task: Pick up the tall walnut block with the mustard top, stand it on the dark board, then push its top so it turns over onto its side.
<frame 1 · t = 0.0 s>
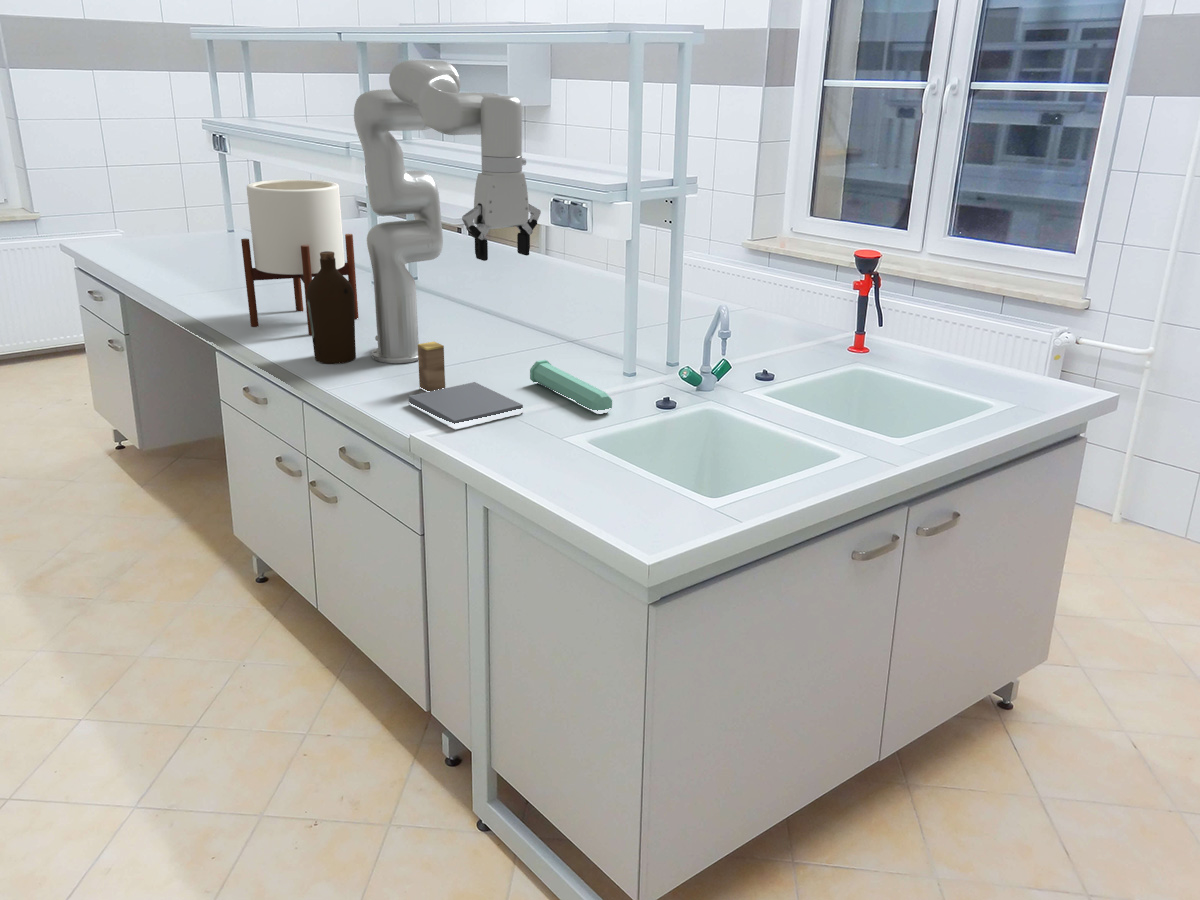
hand: (502, 256, 190), 31 cm above the countertop, tool pointing down, fingers open, 9 cm apart
plant pot with stand: (305, 323, 260), on the countertop
board: (465, 409, 200), on the countertop
olive oil: (335, 359, 231), on the countertop
container: (571, 400, 208), on the countertop
block: (432, 389, 211), on the countertop
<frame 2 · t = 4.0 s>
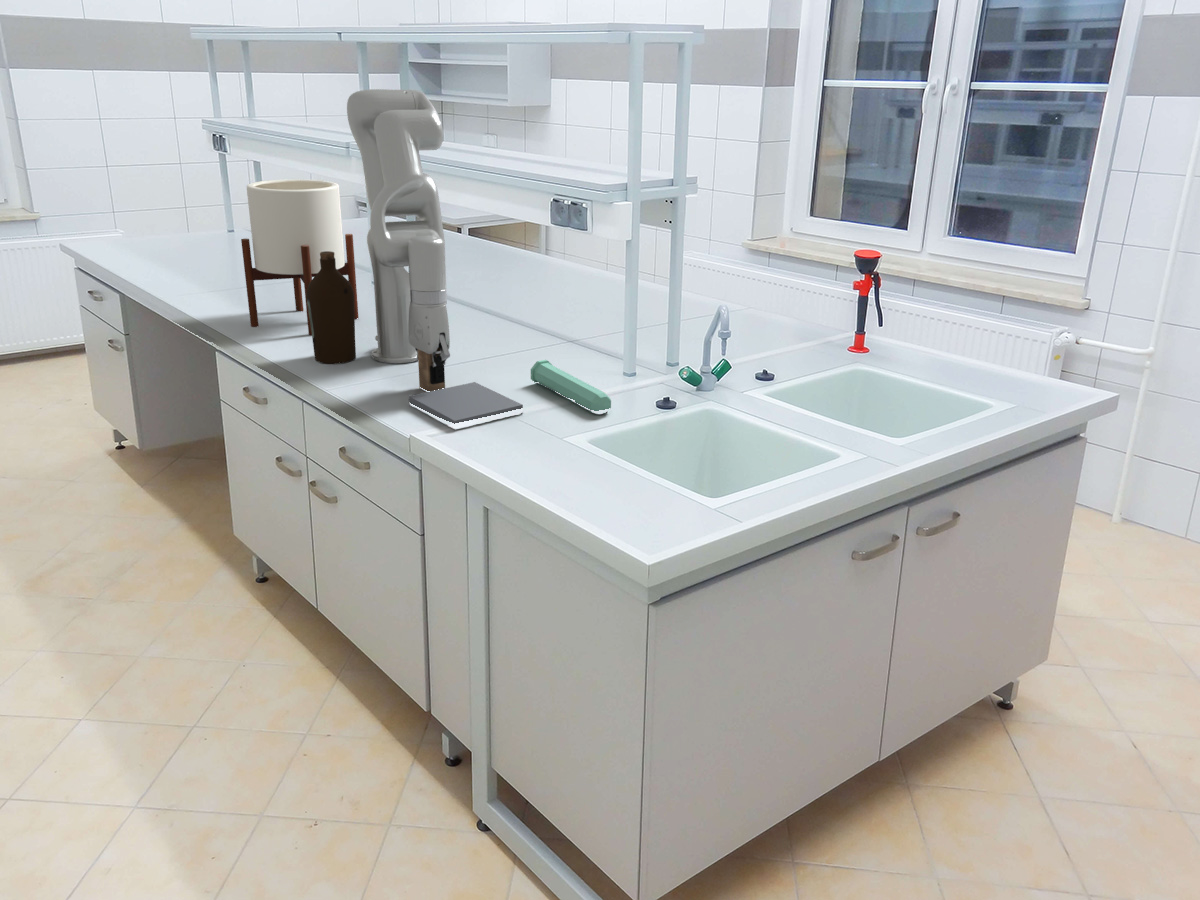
hand: (431, 379, 210), 2 cm above the countertop, tool pointing down, fingers closed on block, 4 cm apart
block: (432, 389, 211), on the countertop, touching gripper
everything else where it was.
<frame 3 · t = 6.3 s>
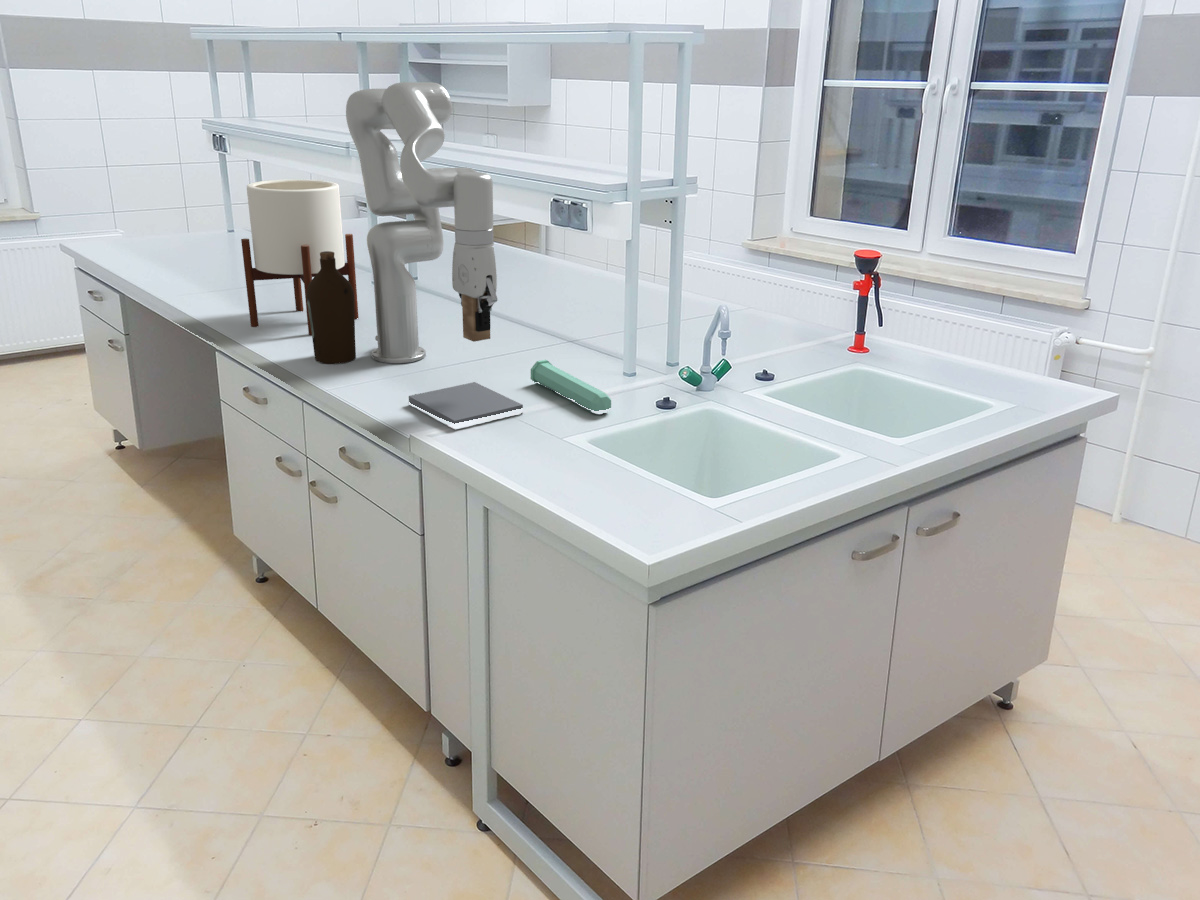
hand: (476, 327, 199), 16 cm above the countertop, tool pointing down, fingers closed on block, 4 cm apart
block: (476, 338, 200), point 14 cm above the countertop, touching gripper
everything else where it was.
when the fingers open (5 cm above the countertop, at t = 8.9 s): block stays where it is, resting on board.
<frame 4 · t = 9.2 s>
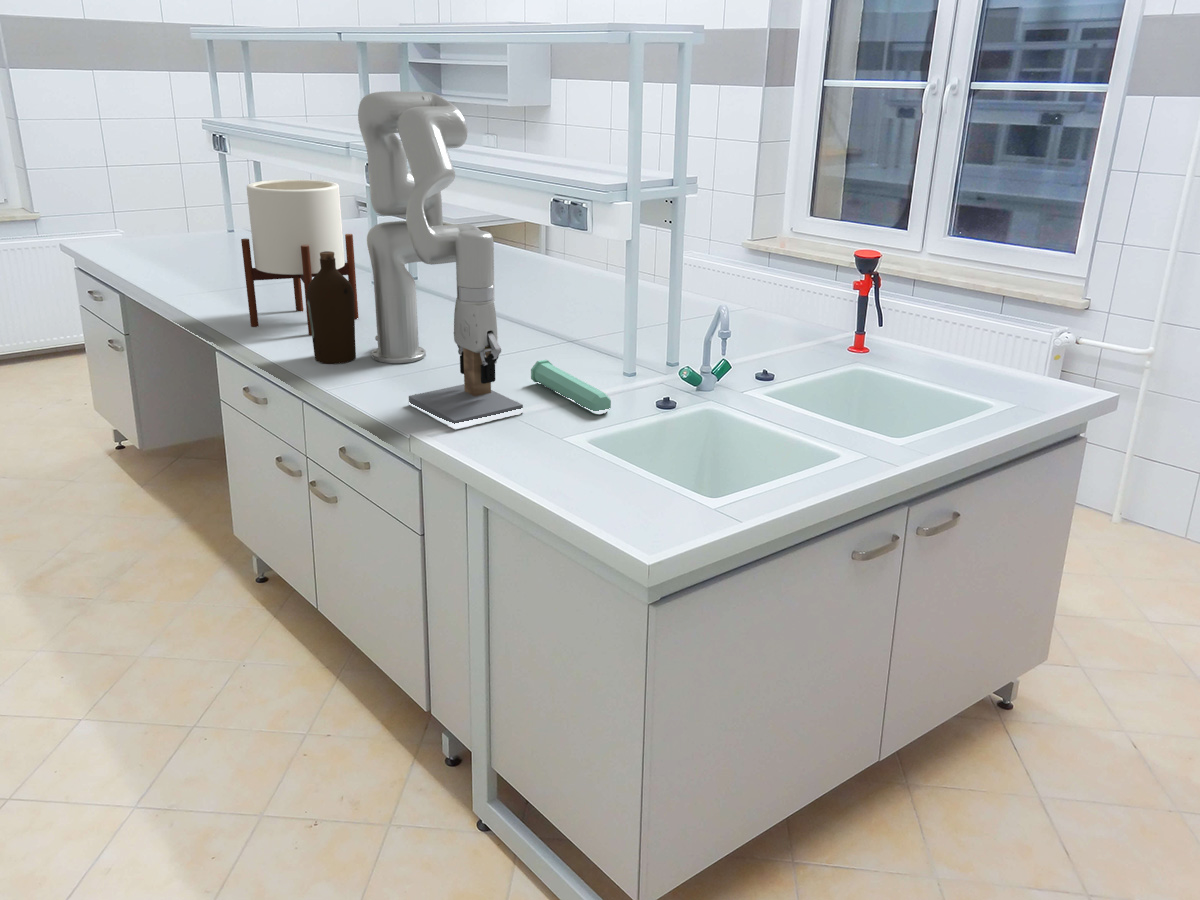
hand: (477, 376, 203), 5 cm above the countertop, tool pointing down, fingers open, 7 cm apart
block: (477, 391, 204), point 2 cm above the countertop, touching board
everything else where it was.
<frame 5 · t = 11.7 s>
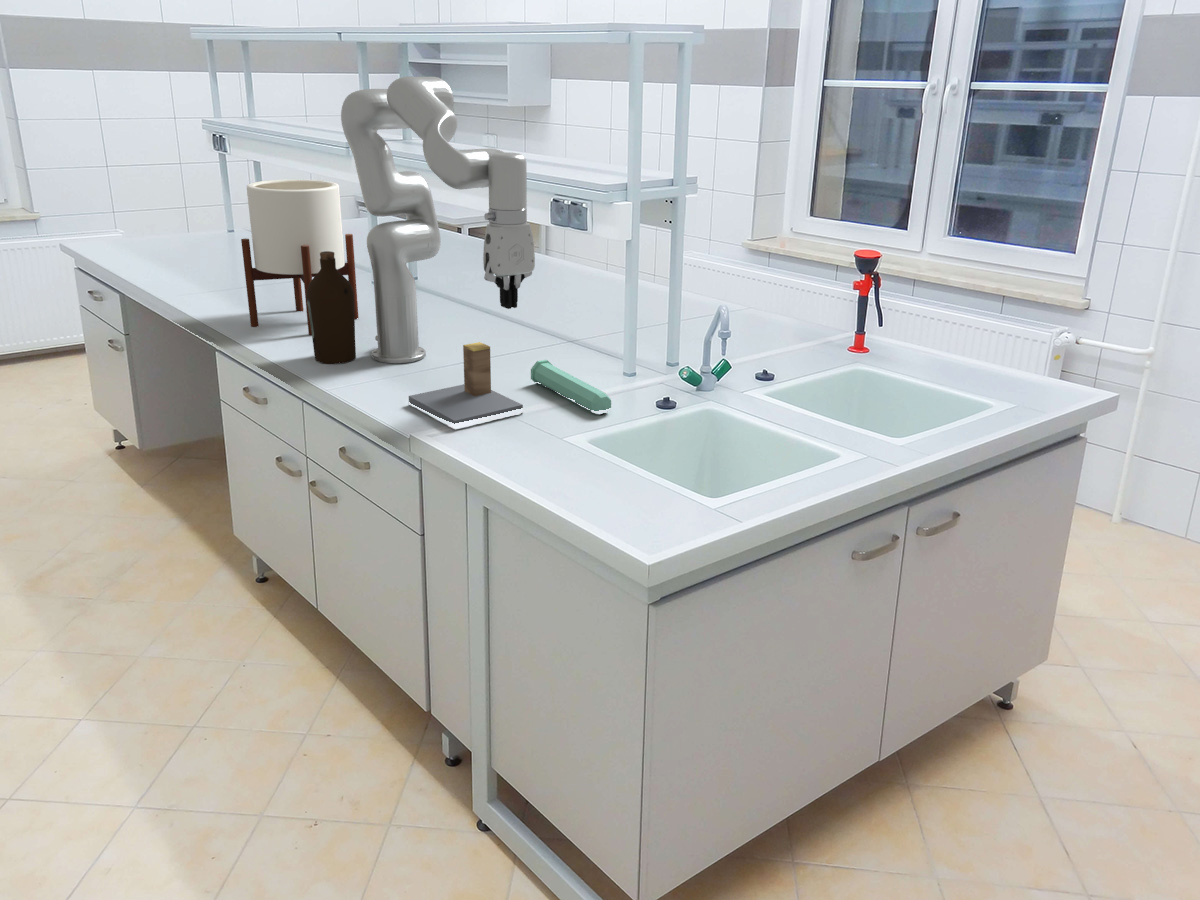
hand: (508, 306, 203), 19 cm above the countertop, tool pointing down, fingers closed
nothing on the countertop moved.
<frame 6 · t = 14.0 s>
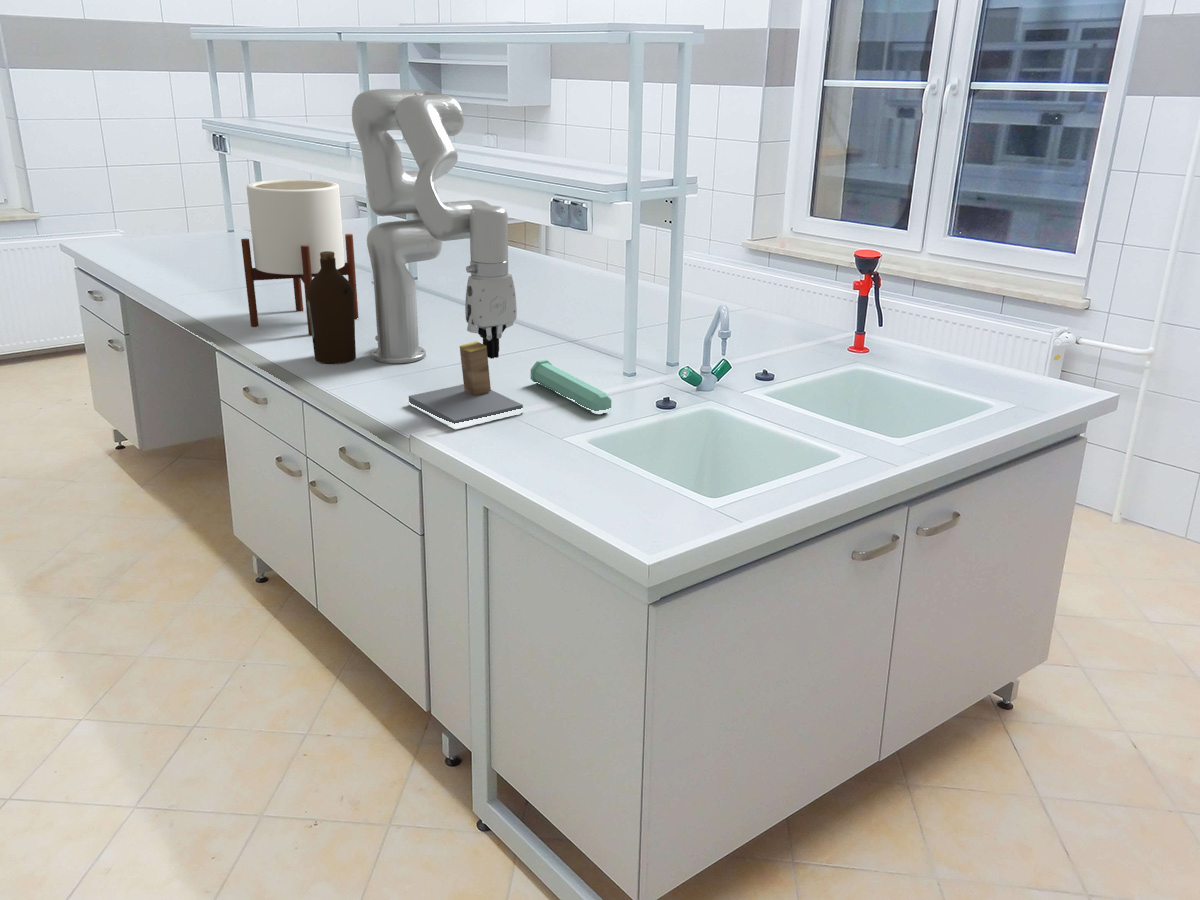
hand: (491, 356, 204), 9 cm above the countertop, tool pointing down, fingers closed
block: (477, 391, 204), point 2 cm above the countertop, tilted 5°, touching board
everything else where it was.
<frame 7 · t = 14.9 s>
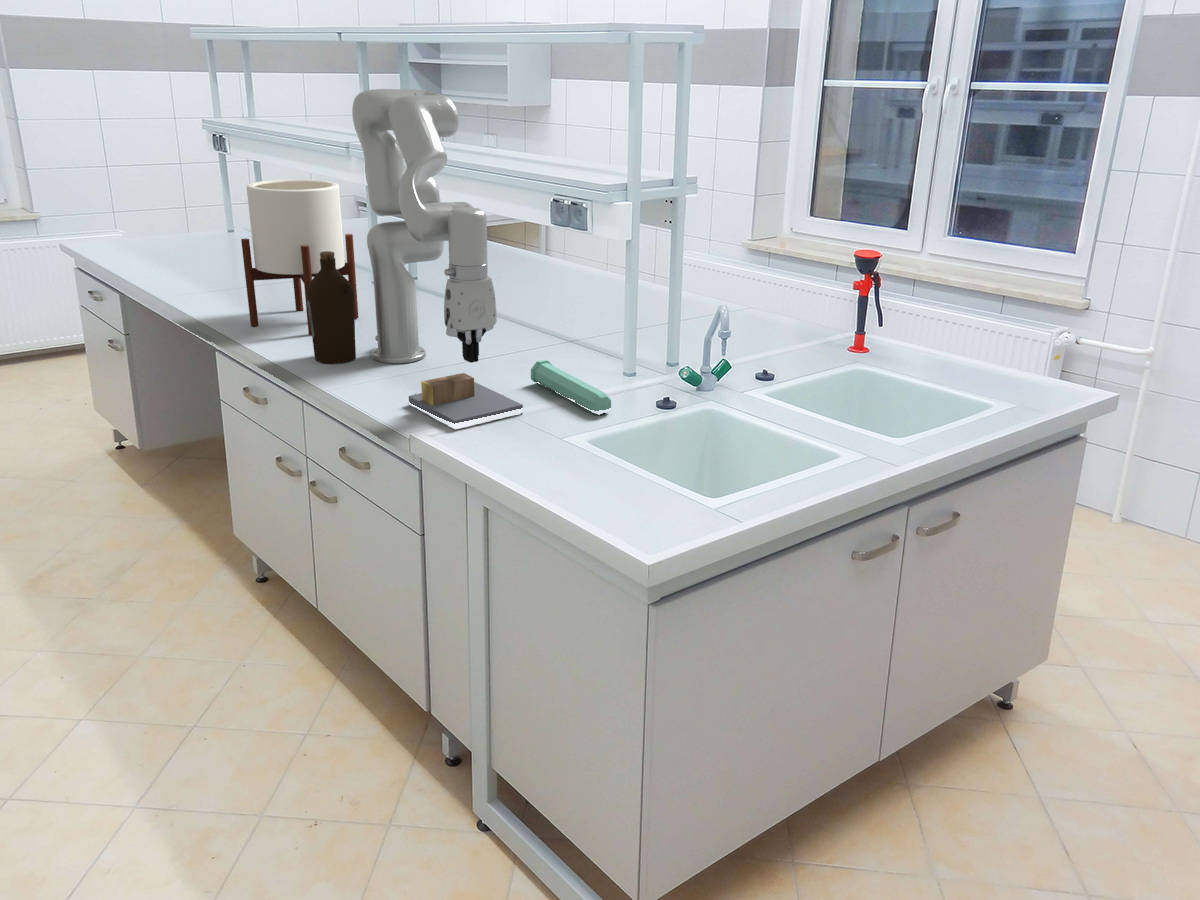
hand: (470, 360, 201), 9 cm above the countertop, tool pointing down, fingers closed
block: (469, 384, 202), point 4 cm above the countertop, tilted 90°, touching board
everything else where it was.
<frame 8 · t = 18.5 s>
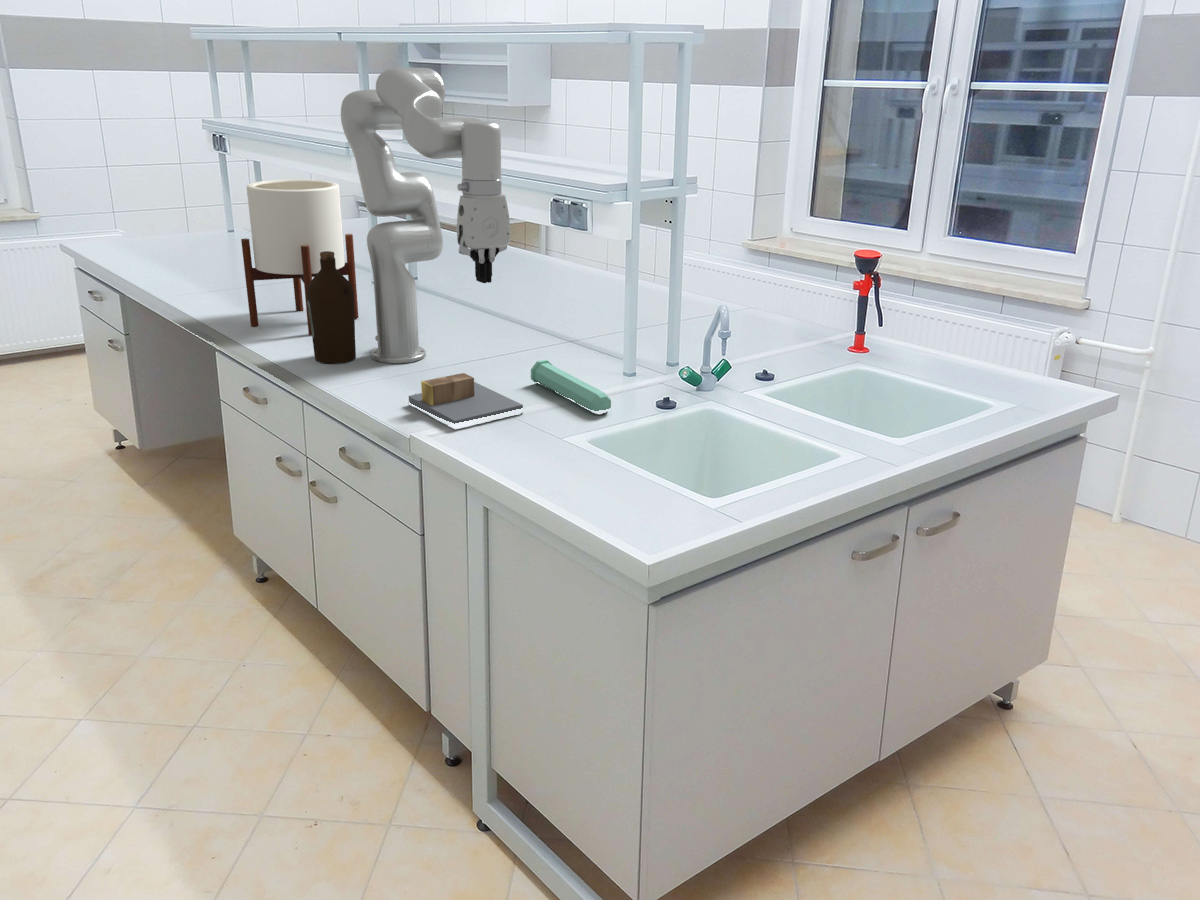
hand: (483, 281, 197), 25 cm above the countertop, tool pointing down, fingers closed
nothing on the countertop moved.
at the end: block tilted 90°; block inside the target area (5.3 cm from its centre), point 4.0 cm above the countertop; the gripper is holding nothing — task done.
